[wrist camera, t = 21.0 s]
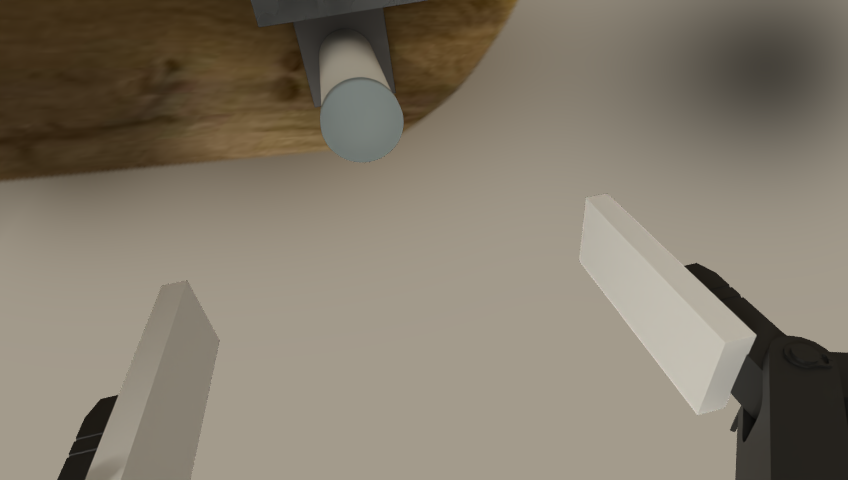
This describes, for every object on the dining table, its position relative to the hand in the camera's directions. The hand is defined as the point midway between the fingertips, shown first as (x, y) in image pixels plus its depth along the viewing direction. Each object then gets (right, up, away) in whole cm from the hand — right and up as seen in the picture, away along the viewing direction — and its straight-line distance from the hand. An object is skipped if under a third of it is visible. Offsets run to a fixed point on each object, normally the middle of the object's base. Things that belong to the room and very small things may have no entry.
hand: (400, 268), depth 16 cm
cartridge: (-5, +16, +23) cm, 28 cm away
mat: (-6, +16, +23) cm, 29 cm away
